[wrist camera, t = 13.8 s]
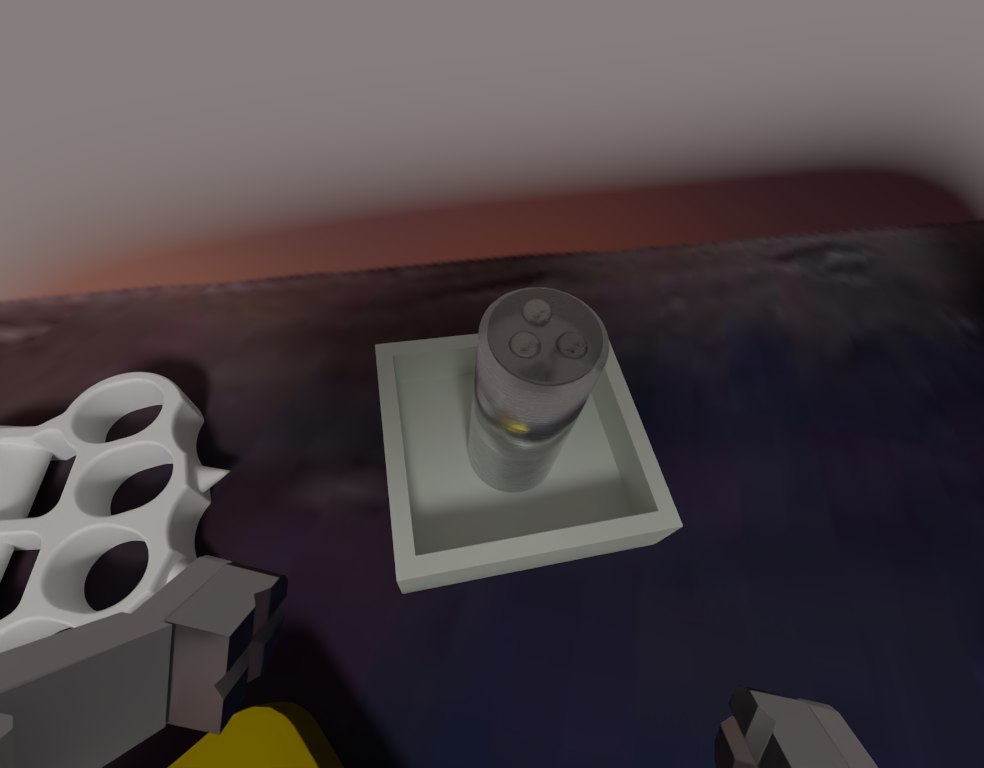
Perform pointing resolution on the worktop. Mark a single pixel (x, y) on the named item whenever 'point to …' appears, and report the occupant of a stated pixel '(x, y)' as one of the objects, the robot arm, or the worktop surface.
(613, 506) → the sage bin
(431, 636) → the worktop surface
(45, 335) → the worktop surface
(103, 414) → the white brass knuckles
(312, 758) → the element tile
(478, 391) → the gray flashlight
